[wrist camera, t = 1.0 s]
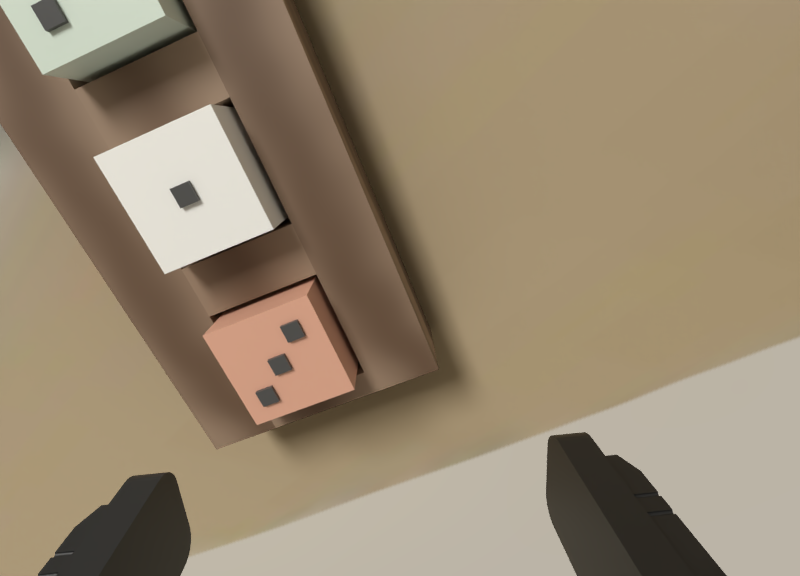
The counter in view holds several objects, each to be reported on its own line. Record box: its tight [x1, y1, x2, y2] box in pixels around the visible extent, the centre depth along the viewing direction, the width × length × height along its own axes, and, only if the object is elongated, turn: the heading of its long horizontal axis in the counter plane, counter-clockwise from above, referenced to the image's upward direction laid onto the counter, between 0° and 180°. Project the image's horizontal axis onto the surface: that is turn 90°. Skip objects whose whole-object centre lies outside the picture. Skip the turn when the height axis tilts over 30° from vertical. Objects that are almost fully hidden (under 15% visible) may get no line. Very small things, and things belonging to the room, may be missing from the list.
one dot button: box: [93, 104, 288, 274], centre depth 21 cm, size 6×6×4 cm
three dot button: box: [203, 275, 359, 425], centre depth 24 cm, size 6×6×4 cm
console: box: [0, 0, 439, 449], centre depth 24 cm, size 14×27×5 cm, turn 22°
